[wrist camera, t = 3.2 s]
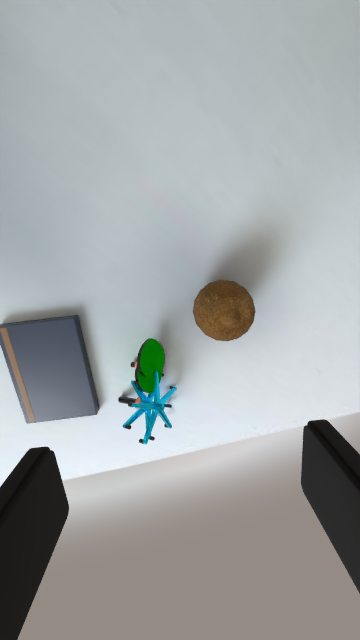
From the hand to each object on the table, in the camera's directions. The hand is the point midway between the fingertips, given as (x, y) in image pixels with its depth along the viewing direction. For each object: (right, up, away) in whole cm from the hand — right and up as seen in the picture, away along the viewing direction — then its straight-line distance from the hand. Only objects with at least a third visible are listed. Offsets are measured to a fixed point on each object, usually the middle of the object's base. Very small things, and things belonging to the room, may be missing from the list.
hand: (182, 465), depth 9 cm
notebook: (-16, -1, +21) cm, 26 cm away
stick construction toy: (-5, -2, +22) cm, 23 cm away
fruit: (+4, +8, +20) cm, 22 cm away
